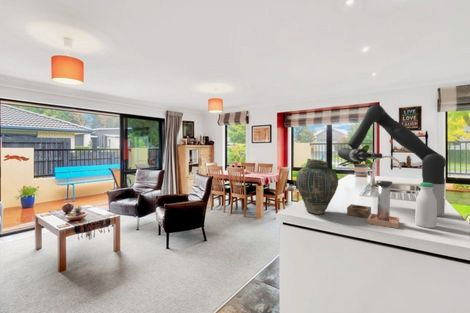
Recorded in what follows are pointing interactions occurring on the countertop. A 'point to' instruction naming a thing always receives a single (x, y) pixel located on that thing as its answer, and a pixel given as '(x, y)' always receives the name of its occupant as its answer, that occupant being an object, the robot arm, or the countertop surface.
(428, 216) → the milk bottle
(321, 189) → the vase
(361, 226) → the countertop surface
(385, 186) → the clear bottle
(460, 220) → the countertop surface
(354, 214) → the socket block
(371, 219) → the dish
